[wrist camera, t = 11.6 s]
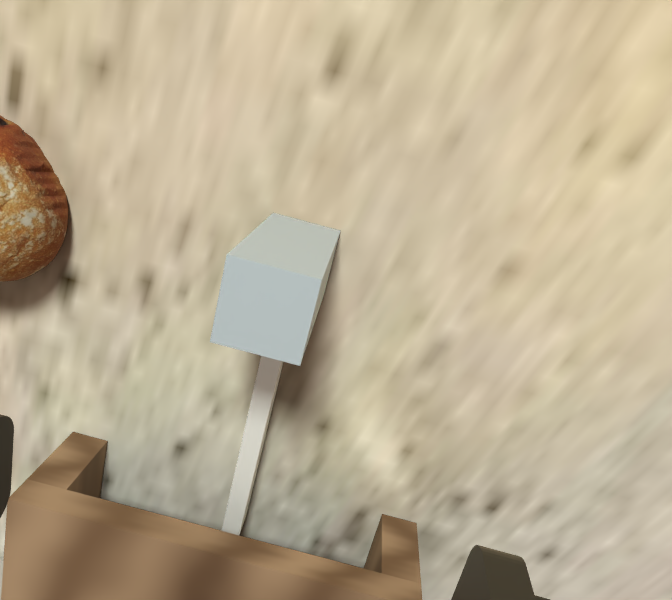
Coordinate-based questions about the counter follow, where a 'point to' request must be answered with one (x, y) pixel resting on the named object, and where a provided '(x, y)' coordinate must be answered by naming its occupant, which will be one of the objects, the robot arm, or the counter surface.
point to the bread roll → (28, 205)
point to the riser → (171, 549)
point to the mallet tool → (269, 323)
